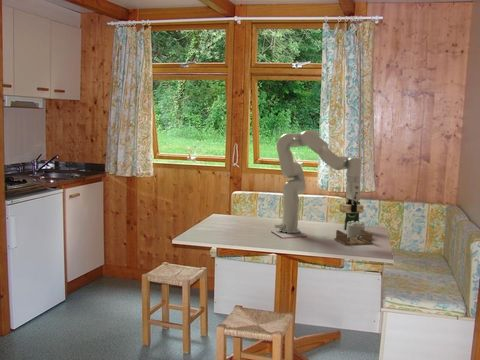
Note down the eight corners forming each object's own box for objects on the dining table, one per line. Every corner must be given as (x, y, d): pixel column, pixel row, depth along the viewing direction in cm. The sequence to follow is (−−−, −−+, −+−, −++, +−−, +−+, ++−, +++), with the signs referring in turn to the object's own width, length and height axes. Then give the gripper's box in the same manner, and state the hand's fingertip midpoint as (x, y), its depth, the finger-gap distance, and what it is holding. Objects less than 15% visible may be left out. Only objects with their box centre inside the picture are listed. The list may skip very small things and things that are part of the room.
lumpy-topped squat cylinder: (347, 237, 296) (348, 223, 295) (344, 232, 309) (345, 218, 308) (365, 238, 296) (366, 224, 295) (361, 233, 309) (362, 220, 307)
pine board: (359, 211, 287) (360, 204, 286) (363, 212, 282) (363, 205, 282) (339, 211, 285) (340, 204, 285) (342, 212, 280) (343, 205, 280)
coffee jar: (359, 229, 321) (361, 200, 319) (358, 231, 314) (360, 202, 311) (344, 227, 324) (346, 199, 322) (343, 230, 316) (345, 201, 314)
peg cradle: (344, 245, 277) (345, 234, 276) (334, 239, 288) (335, 229, 288) (372, 244, 283) (373, 233, 282) (361, 239, 294) (362, 229, 293)
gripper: (366, 181, 274) (364, 213, 276) (353, 177, 290) (351, 208, 293) (353, 181, 272) (351, 213, 274) (341, 177, 289) (339, 208, 291)
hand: (351, 210), depth 283 cm, fingers closed on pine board, 5 cm apart
